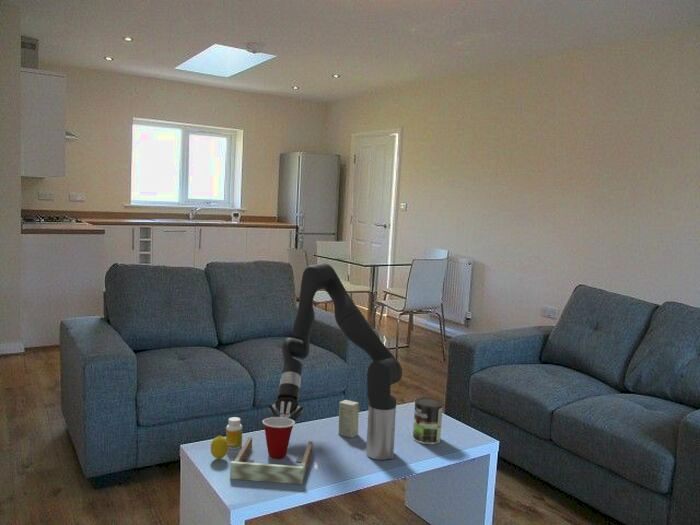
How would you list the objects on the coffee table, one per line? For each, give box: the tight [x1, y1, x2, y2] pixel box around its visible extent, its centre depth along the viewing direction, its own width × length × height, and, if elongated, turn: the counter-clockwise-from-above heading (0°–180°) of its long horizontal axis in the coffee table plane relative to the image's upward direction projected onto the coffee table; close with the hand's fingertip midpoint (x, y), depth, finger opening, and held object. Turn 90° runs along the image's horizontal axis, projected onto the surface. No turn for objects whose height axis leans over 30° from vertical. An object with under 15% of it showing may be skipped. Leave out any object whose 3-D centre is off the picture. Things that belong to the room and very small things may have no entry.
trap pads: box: [243, 455, 304, 464], centre depth 196 cm, size 22×6×1 cm, turn 106°
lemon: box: [210, 435, 229, 461], centre depth 196 cm, size 6×6×8 cm
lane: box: [229, 436, 314, 485], centre depth 194 cm, size 22×24×5 cm
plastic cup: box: [261, 416, 296, 460], centre depth 201 cm, size 11×11×12 cm
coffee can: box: [412, 396, 444, 445], centre depth 221 cm, size 10×10×14 cm
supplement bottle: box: [225, 416, 243, 450], centre depth 206 cm, size 5×5×10 cm
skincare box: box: [338, 399, 360, 439], centre depth 222 cm, size 6×4×12 cm
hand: (282, 432), depth 209 cm, fingers closed
